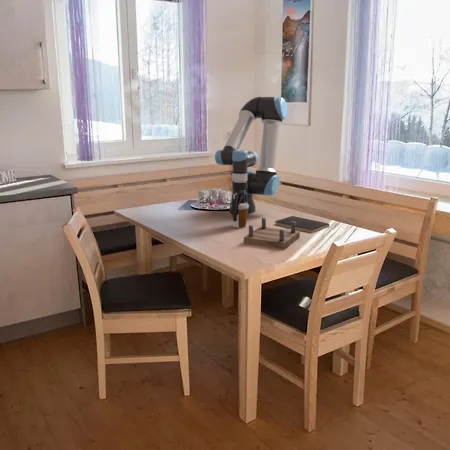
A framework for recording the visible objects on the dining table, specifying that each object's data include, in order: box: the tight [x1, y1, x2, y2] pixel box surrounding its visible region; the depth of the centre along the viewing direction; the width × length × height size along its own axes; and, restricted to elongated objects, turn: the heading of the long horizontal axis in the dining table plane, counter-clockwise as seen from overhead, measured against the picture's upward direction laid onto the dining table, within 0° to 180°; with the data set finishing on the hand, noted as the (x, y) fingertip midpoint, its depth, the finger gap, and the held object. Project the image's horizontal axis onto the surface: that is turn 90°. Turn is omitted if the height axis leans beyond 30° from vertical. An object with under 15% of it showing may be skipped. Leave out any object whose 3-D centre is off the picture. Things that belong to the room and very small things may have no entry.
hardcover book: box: [274, 215, 330, 234], centre depth 256 cm, size 16×23×2 cm
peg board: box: [243, 217, 301, 250], centre depth 231 cm, size 20×20×8 cm
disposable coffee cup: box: [229, 202, 249, 229], centre depth 254 cm, size 10×10×12 cm
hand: (239, 224), depth 255 cm, fingers closed on disposable coffee cup, 8 cm apart
